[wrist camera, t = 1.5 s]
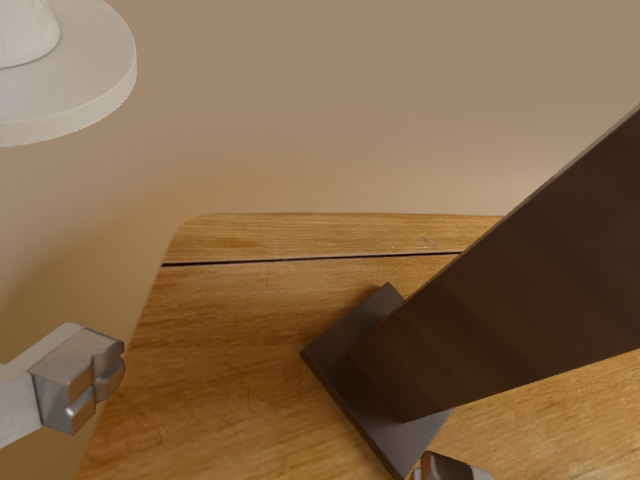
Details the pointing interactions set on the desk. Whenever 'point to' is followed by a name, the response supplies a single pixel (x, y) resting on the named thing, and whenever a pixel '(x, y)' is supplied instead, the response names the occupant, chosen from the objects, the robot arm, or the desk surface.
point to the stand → (498, 307)
